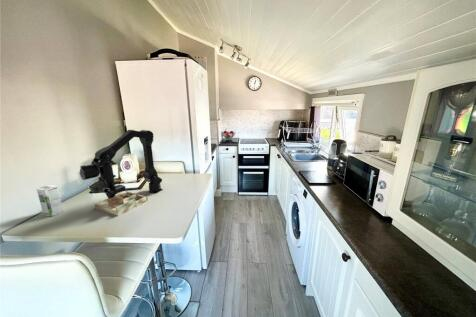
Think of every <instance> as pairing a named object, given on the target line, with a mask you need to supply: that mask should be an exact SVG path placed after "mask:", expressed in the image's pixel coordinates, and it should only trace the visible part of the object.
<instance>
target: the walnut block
mask: <svg viewBox="0 0 476 317" xmlns="http://www.w3.org/2000/svg"><path fill="white" fill-rule="evenodd" d="M107 199H108V198H107ZM122 204H124V201H123V197H120V196H114V197H112V198H110V199H108V205H109V206H110V207H112V208H116V207H118V206H120V205H122Z"/></svg>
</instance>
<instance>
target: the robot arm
mask: <svg viewBox="0 0 476 317" xmlns="http://www.w3.org/2000/svg"><path fill="white" fill-rule="evenodd" d="M133 138H138V139H139V141H140V143H141V144H142V148H143V158H144V165H145V166H144V169H143V170H142V173H141V174H142V178H143V179H144V180H145V181H147V183H148V192H149V193H152V194H157V193H159V192H162V191H163V188H162V186H161V183H162V181H163V179H162V178H161V177H159V176H158V171H157V169H155V163H154V156H153V148H152V146H153V142H154V133H153V132H152V131H151V130H146V129H142V130H134V129H128V130H127V131H126V132H124V133H123V134H122V135H121V136H119V137H118V138H117V139H116V140H114V141H113V142H112V143H110V144H109V145H107V146H105V147H102V148H101V149H99V150H97V151H96V152H95V153H94V158H93V159H92V161H91V163H90V164H87V165H80V169H79V175H80V178H81V179H82V180H83V181H85V180H90V179H94V178H97V177H98V178H97V179H98V180H96V181H95V182H93V183H92V184H90V185H89V186H88V189H89V190H90V192H92V193H94V194H98V193H99V192H102V193H104V194H105V195H106V197H107V199H110V198H112V197H114V196H115V195H117V194H120V193H122V192H125V191H126V190H127V189H126V186H125V185H124V184H118V181H116V180H115V178H116V177H117V175H116V174H114V168H113V166H115V165H117V162H115V161H114V160H113V159H114V158H115V156H116V154H117V152H118V151H119V150H121V149H122V148H123V147H124V146H125V145H127V144H128V143H129V142H130V141H131V140H132V139H133Z"/></svg>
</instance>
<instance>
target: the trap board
mask: <svg viewBox="0 0 476 317" xmlns="http://www.w3.org/2000/svg"><path fill="white" fill-rule="evenodd" d="M115 196H120V197H123V201H124V204H122V205H120V206H118V207H116V208H112V207H110V206H109V205H108V198H106V199H103V200H101V201H98V202H96V203H95V202H94V208H95V209H96V210H99V211H102V212H106V213H107V214H111V215H114V216H117V217H119V216H122V215H123V214H124V213H127V212H129V211H131V210H133V209H135V208H137V207H139V206H141V205H143V204H145V203H146V201H147V202H148V201H149V199H148V198H149V197H148V196H145V195H141V194H139V193H134V192H131V191H126V190H125V191H123V192H120V193H118V194H116V195H115ZM144 202H145V203H144Z"/></svg>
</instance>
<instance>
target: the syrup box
mask: <svg viewBox="0 0 476 317" xmlns="http://www.w3.org/2000/svg"><path fill="white" fill-rule="evenodd" d="M36 193H37V197H38V199H39V200H38V201H39V204H40V207H41V211H42V214H43V216H46V217H54V216H56V215H59V214H60V213H62V212H64V207H63V204H62V199H61V196H60V192H59V187H58V186H57V185H51V184H48V185H44V186H40V187H38V188H36Z"/></svg>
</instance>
